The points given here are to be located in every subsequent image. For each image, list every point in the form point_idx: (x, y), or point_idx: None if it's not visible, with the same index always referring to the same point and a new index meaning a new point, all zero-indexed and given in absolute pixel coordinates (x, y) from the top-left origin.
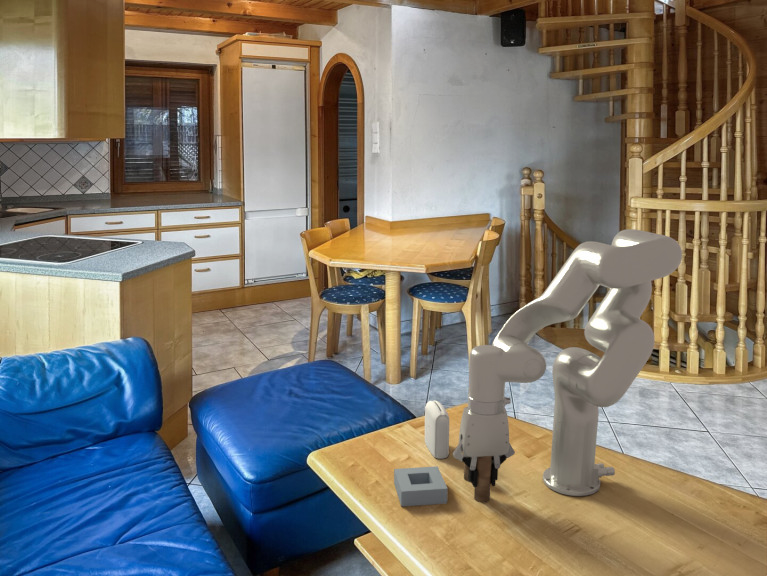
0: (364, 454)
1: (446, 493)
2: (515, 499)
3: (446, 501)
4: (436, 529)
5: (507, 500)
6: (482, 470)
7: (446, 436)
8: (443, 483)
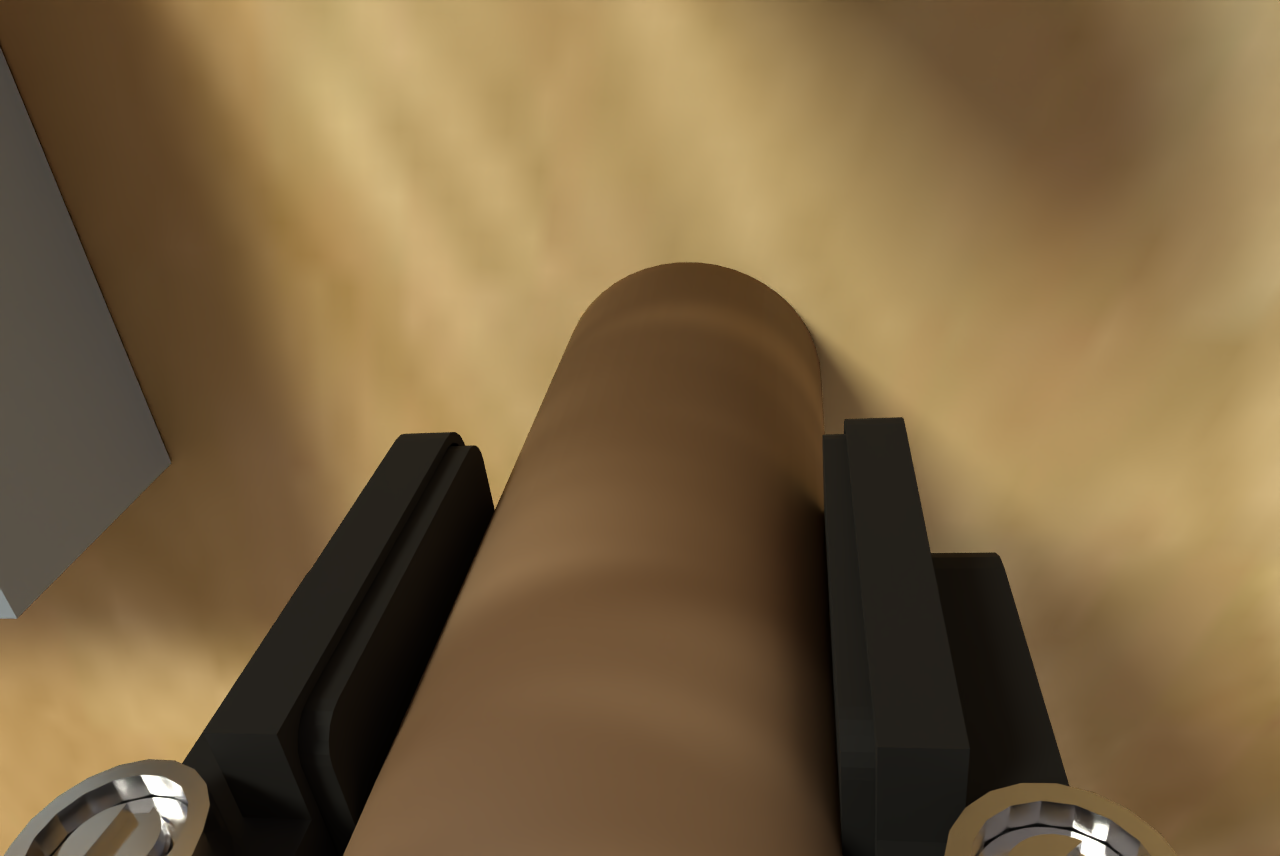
0: None
1: (61, 559)
2: (1254, 449)
3: (145, 482)
4: None
5: (1098, 465)
6: None
7: None
8: None
